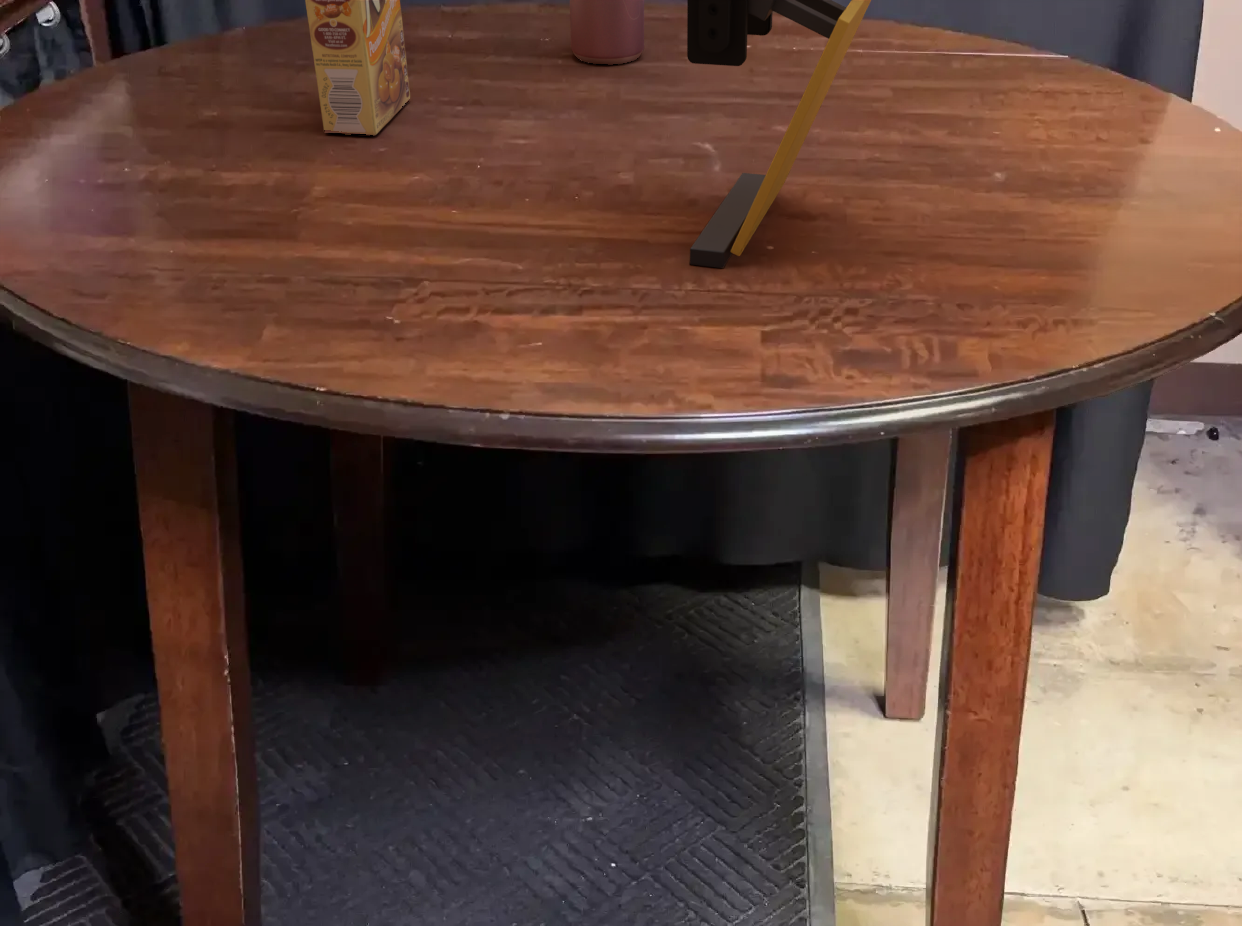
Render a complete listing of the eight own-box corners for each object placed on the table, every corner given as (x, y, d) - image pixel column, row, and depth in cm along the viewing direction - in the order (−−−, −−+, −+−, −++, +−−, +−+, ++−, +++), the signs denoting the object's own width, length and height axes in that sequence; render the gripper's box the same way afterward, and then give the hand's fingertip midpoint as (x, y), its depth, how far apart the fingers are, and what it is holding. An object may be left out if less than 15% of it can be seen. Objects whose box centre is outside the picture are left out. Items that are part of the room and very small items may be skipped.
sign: (885, -30, 80) (793, -77, 80) (849, 22, 71) (744, -30, 71) (783, 185, 89) (699, 143, 89) (739, 257, 80) (646, 210, 80)
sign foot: (772, 190, 90) (773, 175, 89) (723, 268, 80) (724, 252, 79) (741, 187, 90) (742, 172, 90) (689, 265, 80) (689, 248, 80)
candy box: (378, 138, 99) (351, -102, 90) (320, 136, 99) (287, -103, 90) (412, 100, 106) (391, -126, 97) (358, 98, 106) (332, -127, 97)
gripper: (777, -328, 61) (762, 97, 71) (845, -347, 74) (824, 13, 85) (612, -326, 63) (621, 87, 73) (707, -345, 76) (704, 7, 87)
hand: (730, 44), depth 79 cm, fingers closed on sign, 5 cm apart
